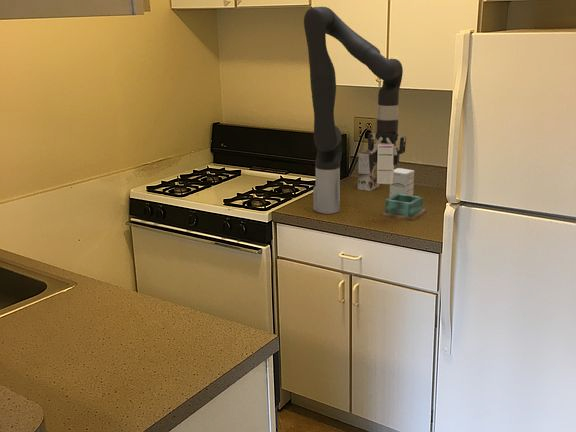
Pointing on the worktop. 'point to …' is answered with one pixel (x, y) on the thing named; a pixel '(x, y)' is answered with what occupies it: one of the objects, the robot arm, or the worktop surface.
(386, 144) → the syrup box
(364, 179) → the coffee box
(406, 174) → the supplement box
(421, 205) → the socket collar
